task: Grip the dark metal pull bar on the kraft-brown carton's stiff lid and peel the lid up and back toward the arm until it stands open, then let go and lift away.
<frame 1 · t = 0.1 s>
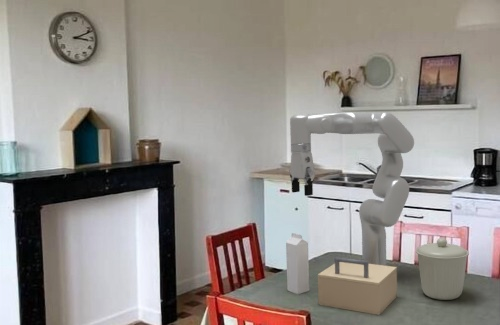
hand: (302, 193, 206), 37 cm above the table, tool pointing down, fingers open, 9 cm apart
canister: (441, 296, 199), on the table
milk: (298, 291, 209), on the table
carton lid: (357, 264, 195), point 13 cm above the table, hinge at 0.0°
carton: (358, 300, 197), on the table
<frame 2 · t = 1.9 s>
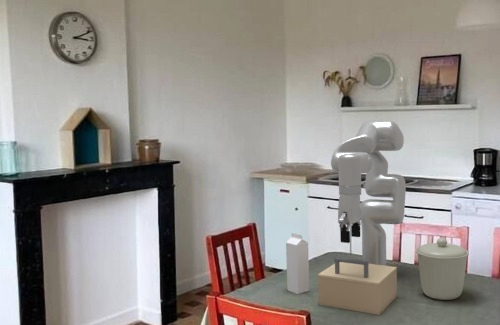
hand: (350, 239, 189), 24 cm above the table, tool pointing down, fingers open, 9 cm apart
nothing on the table moved.
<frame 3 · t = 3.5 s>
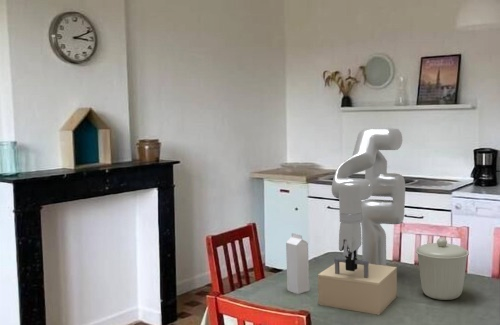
hand: (351, 269, 190), 13 cm above the table, tool pointing down, fingers closed
carton lid: (357, 264, 195), point 13 cm above the table, hinge at 0.0°, touching gripper
everything else where it was.
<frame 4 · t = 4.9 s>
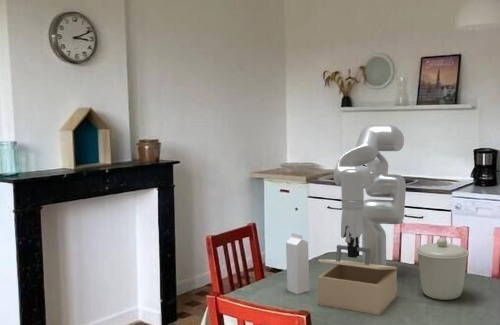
hand: (353, 256, 192), 17 cm above the table, tool pointing down, fingers closed
carton lid: (358, 256, 196), point 16 cm above the table, hinge at 15.2°, touching gripper
everything else where it was.
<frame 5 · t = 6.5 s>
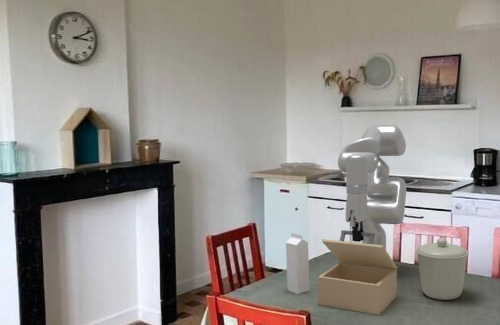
hand: (357, 240, 195), 22 cm above the table, tool pointing down, fingers closed
carton lid: (361, 246, 198), point 19 cm above the table, hinge at 36.5°, touching gripper
everything else where it was.
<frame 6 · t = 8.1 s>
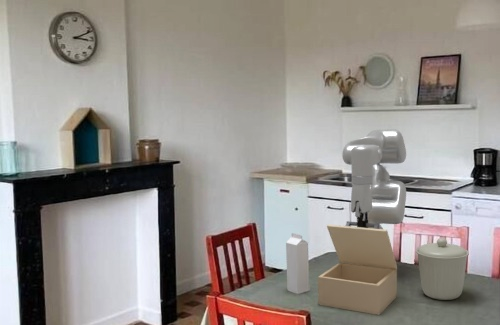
hand: (362, 230, 199), 24 cm above the table, tool pointing down, fingers closed
carton lid: (364, 240, 201), point 20 cm above the table, hinge at 54.9°, touching gripper
everything else where it was.
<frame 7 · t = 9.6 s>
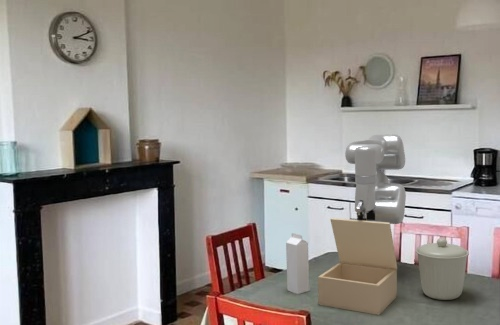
hand: (366, 226, 202), 25 cm above the table, tool pointing down, fingers open, 9 cm apart
carton lid: (366, 238, 202), point 21 cm above the table, hinge at 66.0°, touching gripper
everything else where it was.
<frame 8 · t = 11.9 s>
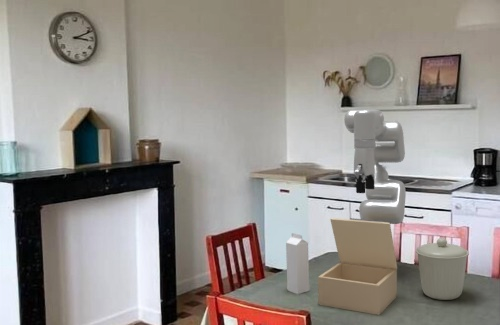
hand: (365, 191, 201), 38 cm above the table, tool pointing down, fingers open, 9 cm apart
carton lid: (366, 238, 202), point 21 cm above the table, hinge at 66.0°
everything else where it was.
at the end: carton lid at +66° (first picture: +0°); milk moved 0.2 cm from its start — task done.
